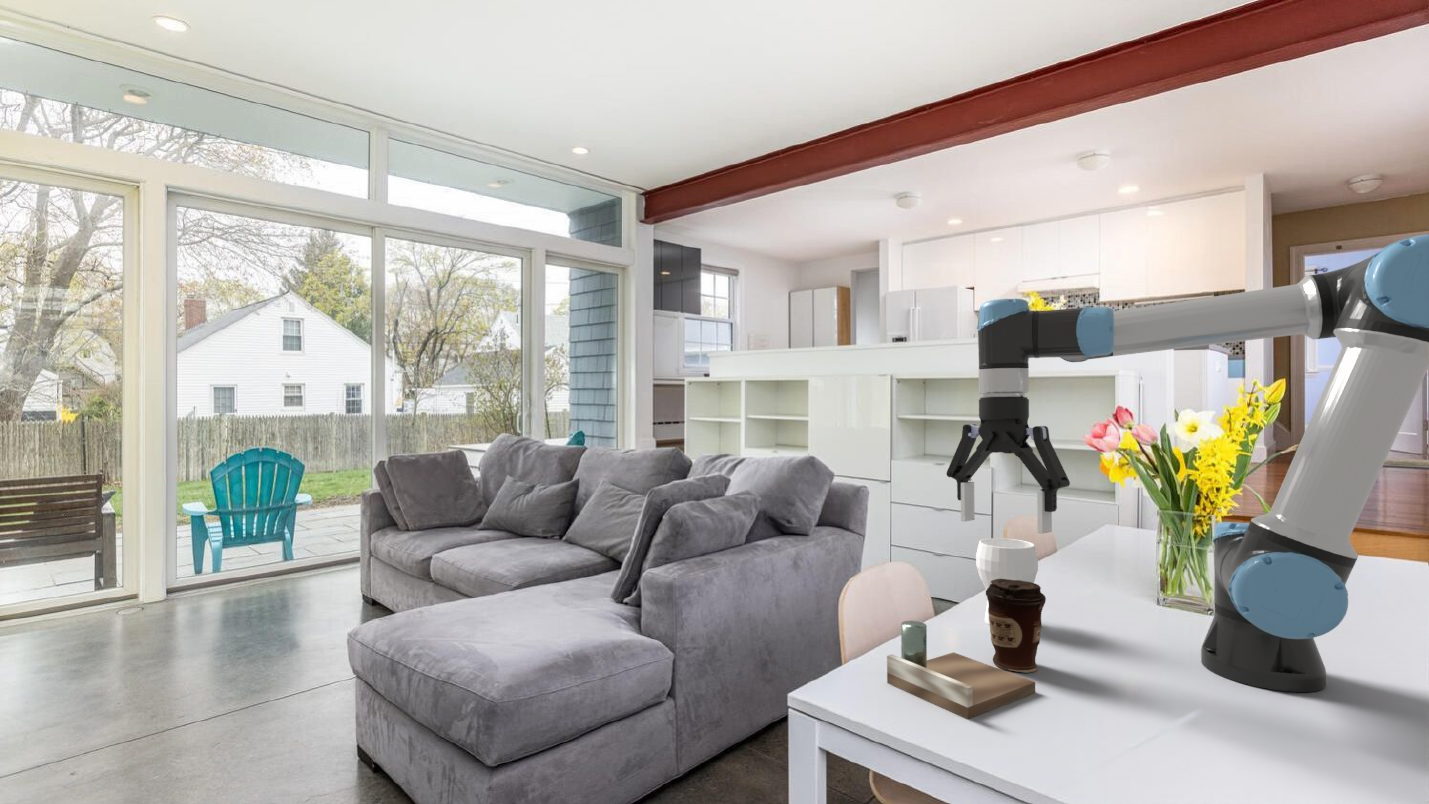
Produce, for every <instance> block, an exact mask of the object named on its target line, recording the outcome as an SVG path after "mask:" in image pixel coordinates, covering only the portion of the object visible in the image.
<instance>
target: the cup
mask: <svg viewBox="0 0 1429 804" xmlns="http://www.w3.org/2000/svg"><path fill="white" fill-rule="evenodd" d="M1038 558H1039V557H1038V555H1037V550H1036V546H1035V544H1034V543H1032V542H1031V541H1030V542H1029V541H1026V540H1022V539H1016V538H1015V539H1014V538H1004V537H991V538H983V539H980V540H979V542H978V545H977V550H976V553H975V562H976V563H975V565H976V569H977V572H978V575H979V578H980V580H981V582H982V584H983V586H984V588H985V591H986V590H987V589H988V588H989V586H990V584H992V583H991V581H992V580H995V579H1008V580H1021V581H1026V582H1032V583H1035V580H1036V578H1037V575H1038V571H1039V559H1038ZM988 608H989V603H988V599H987V598H986V609H985V614H984V622H985V623H986V624H987V625H989V626H990V622H989V613H988Z"/></svg>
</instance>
